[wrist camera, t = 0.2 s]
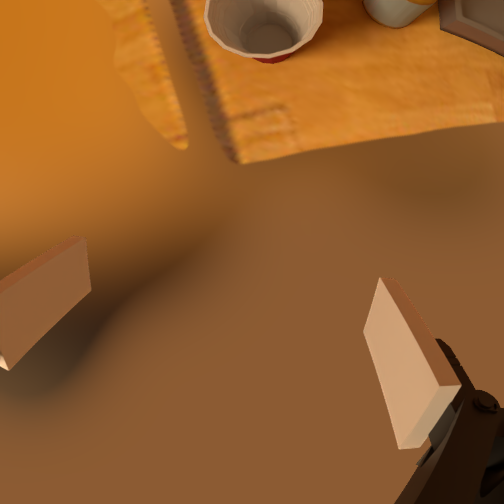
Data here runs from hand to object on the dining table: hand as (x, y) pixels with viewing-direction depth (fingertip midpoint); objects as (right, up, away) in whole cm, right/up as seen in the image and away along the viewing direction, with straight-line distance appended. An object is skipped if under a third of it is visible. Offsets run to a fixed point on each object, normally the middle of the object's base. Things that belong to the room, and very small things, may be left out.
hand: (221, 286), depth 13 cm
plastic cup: (+3, +27, +20) cm, 34 cm away
